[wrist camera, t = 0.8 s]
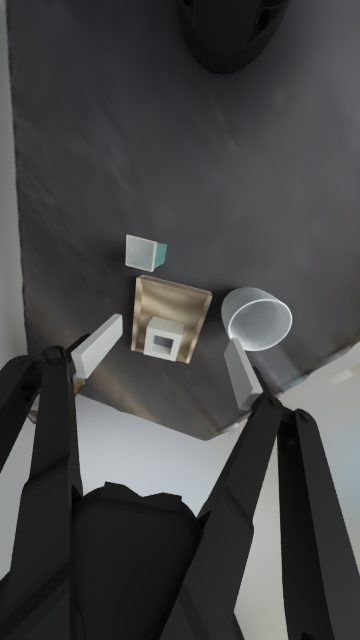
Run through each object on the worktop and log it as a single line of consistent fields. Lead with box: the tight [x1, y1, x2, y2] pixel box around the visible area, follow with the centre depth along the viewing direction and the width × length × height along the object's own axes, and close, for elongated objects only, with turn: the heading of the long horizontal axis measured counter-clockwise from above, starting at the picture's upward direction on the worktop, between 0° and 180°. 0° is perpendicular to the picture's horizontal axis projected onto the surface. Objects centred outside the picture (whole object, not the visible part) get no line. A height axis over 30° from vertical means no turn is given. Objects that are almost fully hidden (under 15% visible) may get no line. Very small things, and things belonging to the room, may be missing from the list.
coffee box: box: [27, 373, 85, 424], centre depth 49 cm, size 9×6×16 cm
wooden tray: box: [131, 275, 213, 363], centre depth 39 cm, size 22×18×4 cm
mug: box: [221, 287, 292, 351], centre depth 31 cm, size 15×11×13 cm
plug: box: [126, 235, 167, 272], centre depth 27 cm, size 4×4×12 cm
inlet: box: [144, 316, 184, 361], centre depth 39 cm, size 9×9×6 cm
